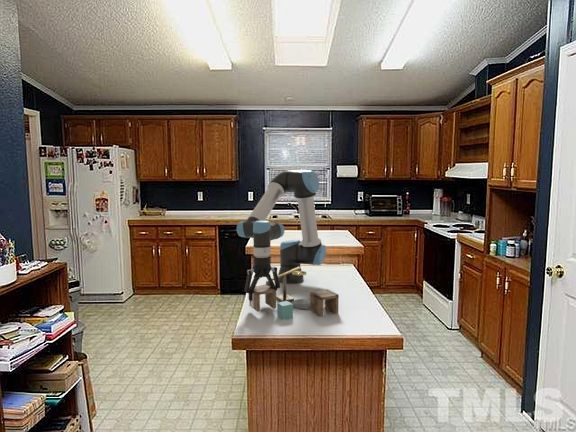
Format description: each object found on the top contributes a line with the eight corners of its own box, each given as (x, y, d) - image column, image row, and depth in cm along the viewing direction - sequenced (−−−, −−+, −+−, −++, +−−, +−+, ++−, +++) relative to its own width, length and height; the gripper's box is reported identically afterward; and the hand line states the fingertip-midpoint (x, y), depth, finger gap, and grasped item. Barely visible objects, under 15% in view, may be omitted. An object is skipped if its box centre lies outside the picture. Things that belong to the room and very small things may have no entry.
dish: (287, 303, 189) (287, 301, 189) (309, 299, 194) (309, 297, 194) (299, 311, 178) (299, 308, 178) (322, 306, 184) (322, 304, 184)
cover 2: (310, 310, 179) (310, 292, 178) (327, 307, 183) (327, 289, 182) (321, 316, 171) (321, 297, 170) (338, 313, 175) (338, 294, 174)
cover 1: (249, 305, 179) (249, 287, 178) (267, 302, 183) (267, 284, 182) (257, 311, 171) (257, 292, 170) (276, 308, 175) (276, 289, 175)
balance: (259, 301, 192) (258, 270, 190) (301, 294, 203) (301, 264, 201) (266, 306, 185) (265, 273, 183) (309, 298, 196) (309, 267, 194)
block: (277, 316, 173) (277, 302, 172) (287, 314, 175) (287, 300, 174) (282, 319, 168) (282, 306, 168) (292, 317, 171) (292, 304, 170)
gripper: (241, 260, 167) (242, 312, 169) (288, 255, 177) (288, 304, 179) (235, 256, 173) (236, 307, 176) (280, 252, 183) (280, 299, 186)
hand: (262, 305), depth 177 cm, fingers closed on cover 1, 9 cm apart
